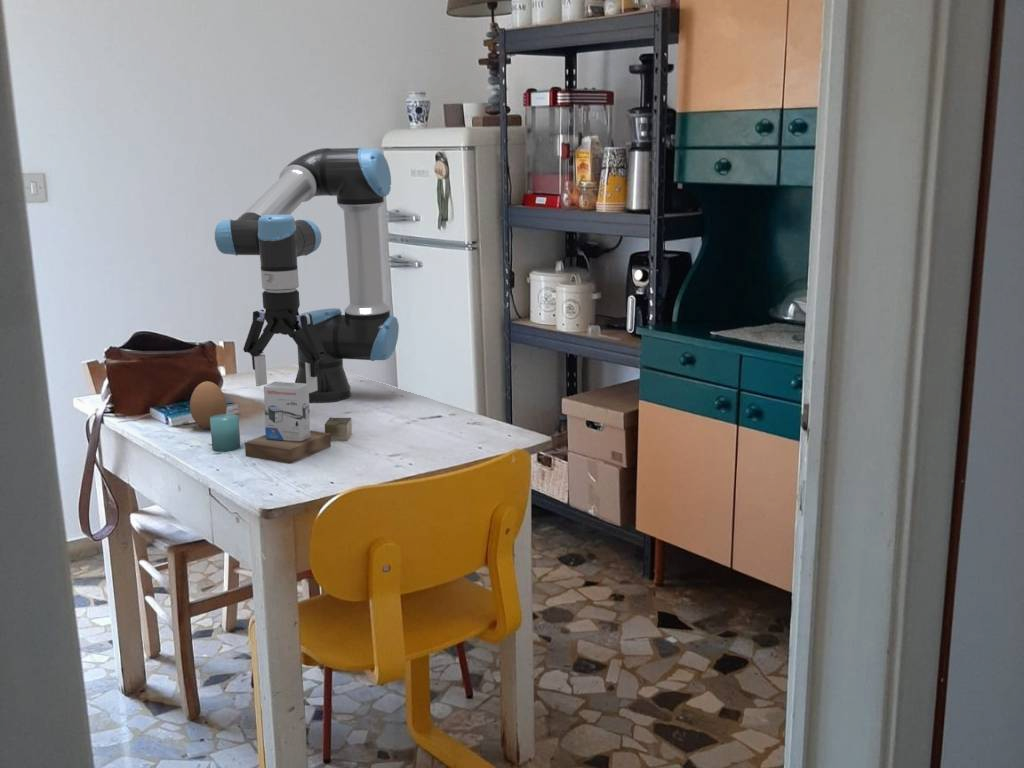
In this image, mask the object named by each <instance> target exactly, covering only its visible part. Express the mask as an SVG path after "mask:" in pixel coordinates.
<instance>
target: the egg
mask: <svg viewBox="0 0 1024 768" xmlns="http://www.w3.org/2000/svg"><path fill="white" fill-rule="evenodd" d="M226 399H227V398H226V397H225V394H224V393H223V390H222V389H221V388H220V387H219V385H217V384H216V383H214V382H212V381H208V380H206V381H202V382H201V383H199V384H198V385H197V386H196V387H195V388H194V390H193V392H192V393H191V397H190V400H189V411H190V415H191V418H192V419H193V420H194V422H195V423H196V424H197V425H198V426H200V427H201V428H204V429H208V430H209V429H210V430H211V425H210V417H212V416H215V415H219V414H227V410H228V406H227V405H228V404H227V400H226Z"/></svg>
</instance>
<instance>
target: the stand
mask: <svg viewBox="0 0 1024 768" xmlns="http://www.w3.org/2000/svg"><path fill="white" fill-rule="evenodd" d="M331 447H332V441H331V433H325V431H324V432H323V431H317V430H311V429H310V437H308V438H307V439H305V440H303V441H286V440H273V439H266V434H265V435H262V436H258V437H256V438H253V439H250V440H249V441H245V442H244V454H245V457H250V458H254V459H256V458H257V459H260V460H261V459H262V460H267V461H272V462H280V463H284V464H292V463H295V462H297V461H300V460H302V459H304V458H307V457H309V456H312V455H314V454H316V453H319V452H321V451H323V450H326V449H328V448H331Z"/></svg>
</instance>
